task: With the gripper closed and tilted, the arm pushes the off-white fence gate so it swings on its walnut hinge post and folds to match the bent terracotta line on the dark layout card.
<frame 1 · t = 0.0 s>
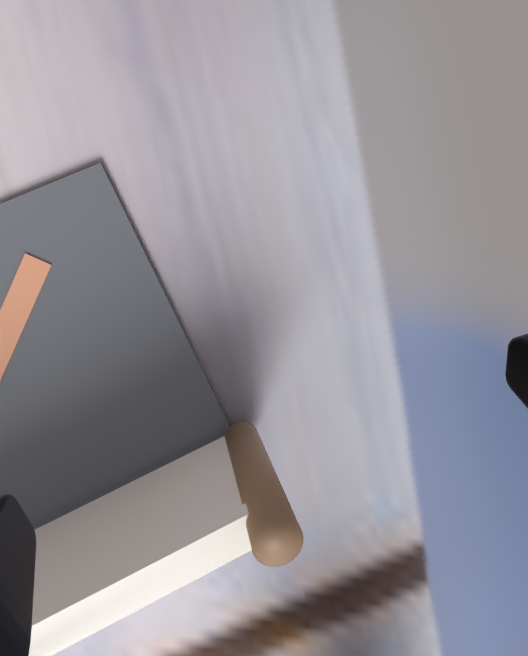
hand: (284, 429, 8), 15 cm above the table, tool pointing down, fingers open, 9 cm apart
fence gate: (68, 573, 18), point 5 cm above the table, hinge at 0.0°
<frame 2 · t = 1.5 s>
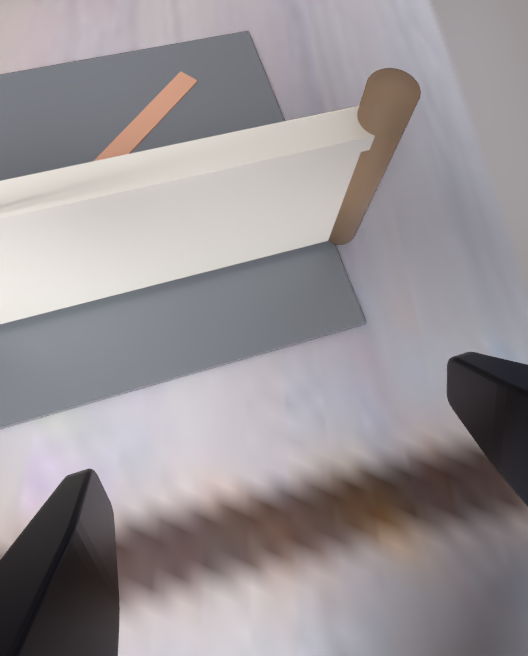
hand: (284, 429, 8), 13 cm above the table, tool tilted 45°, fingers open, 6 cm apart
fence gate: (158, 221, 17), point 5 cm above the table, hinge at 0.0°
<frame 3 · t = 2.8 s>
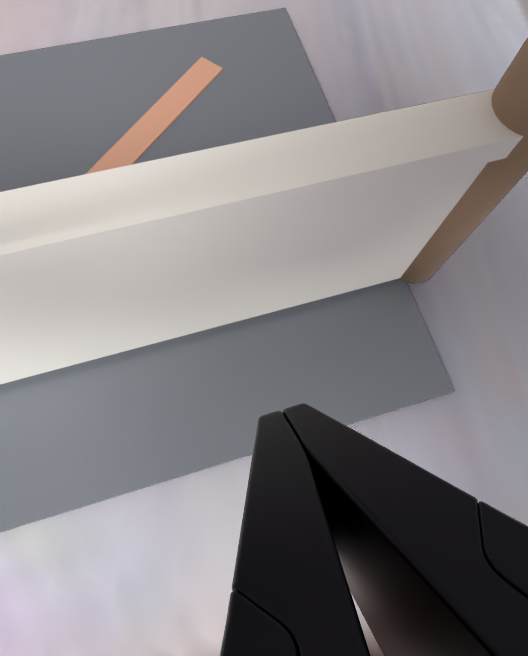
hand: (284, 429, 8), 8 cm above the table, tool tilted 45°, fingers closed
fence gate: (178, 262, 12), point 5 cm above the table, hinge at 0.0°
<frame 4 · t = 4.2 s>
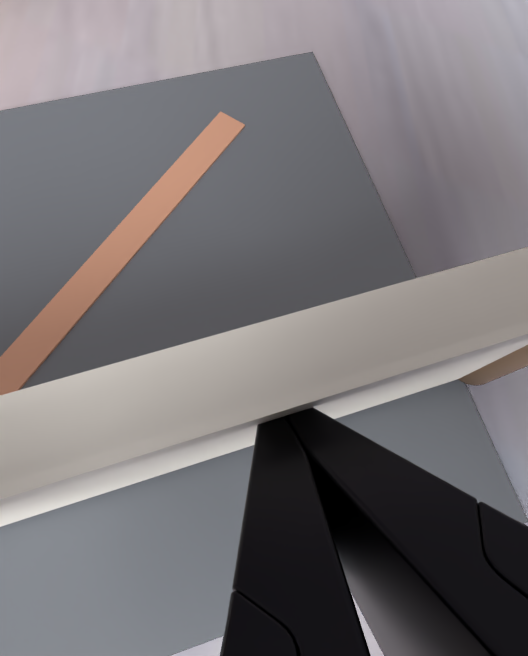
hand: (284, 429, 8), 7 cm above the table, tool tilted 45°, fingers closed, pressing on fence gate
fence gate: (212, 417, 9), point 5 cm above the table, hinge at 0.4°, touching gripper
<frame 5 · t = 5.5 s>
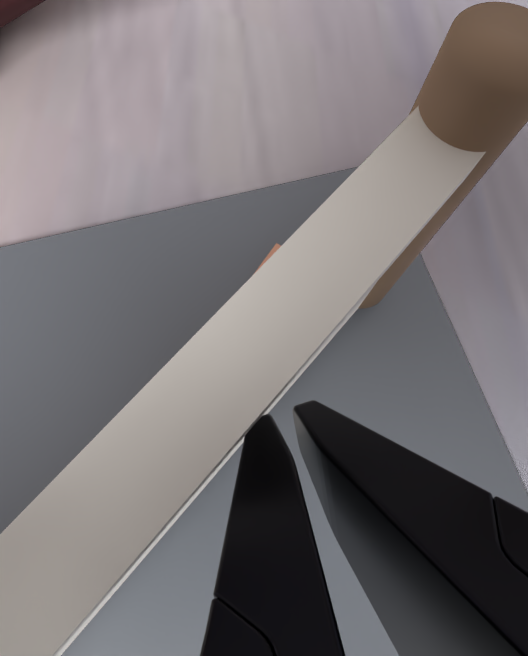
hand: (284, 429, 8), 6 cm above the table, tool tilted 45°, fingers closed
fence gate: (147, 499, 8), point 5 cm above the table, hinge at 32.4°, touching gripper
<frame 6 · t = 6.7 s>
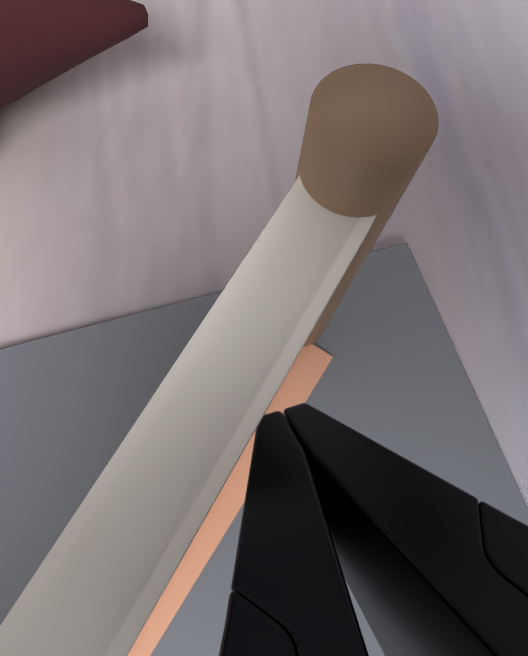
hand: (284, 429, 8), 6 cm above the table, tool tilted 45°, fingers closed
fence gate: (92, 638, 8), point 5 cm above the table, hinge at 42.9°, touching gripper
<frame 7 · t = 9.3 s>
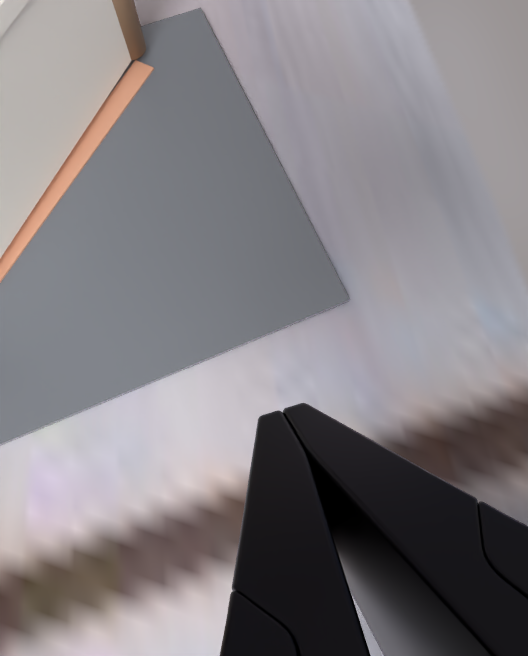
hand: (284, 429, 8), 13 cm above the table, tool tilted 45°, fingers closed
fence gate: (2, 103, 19), point 5 cm above the table, hinge at 43.0°
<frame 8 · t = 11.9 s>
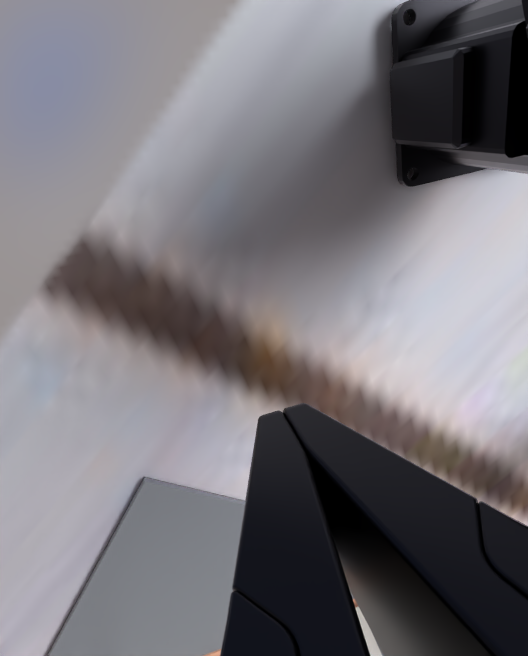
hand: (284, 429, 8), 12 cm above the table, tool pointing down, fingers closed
layout card: (372, 592, 31), on the table
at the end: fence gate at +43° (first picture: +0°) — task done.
